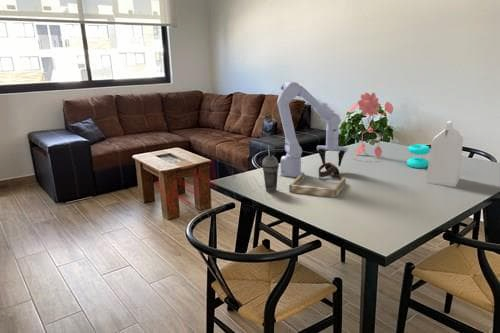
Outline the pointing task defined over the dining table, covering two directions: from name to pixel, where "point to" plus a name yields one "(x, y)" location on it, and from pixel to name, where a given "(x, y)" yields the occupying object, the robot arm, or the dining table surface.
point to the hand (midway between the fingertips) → (331, 165)
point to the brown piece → (328, 170)
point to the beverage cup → (270, 172)
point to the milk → (445, 157)
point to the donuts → (417, 161)
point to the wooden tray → (315, 188)
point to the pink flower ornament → (370, 106)
